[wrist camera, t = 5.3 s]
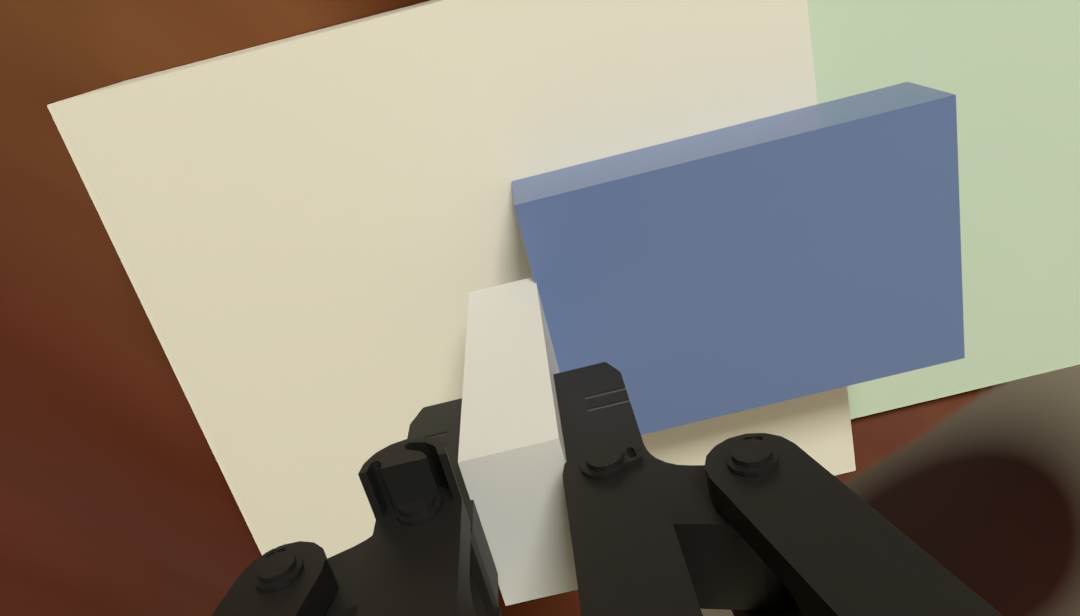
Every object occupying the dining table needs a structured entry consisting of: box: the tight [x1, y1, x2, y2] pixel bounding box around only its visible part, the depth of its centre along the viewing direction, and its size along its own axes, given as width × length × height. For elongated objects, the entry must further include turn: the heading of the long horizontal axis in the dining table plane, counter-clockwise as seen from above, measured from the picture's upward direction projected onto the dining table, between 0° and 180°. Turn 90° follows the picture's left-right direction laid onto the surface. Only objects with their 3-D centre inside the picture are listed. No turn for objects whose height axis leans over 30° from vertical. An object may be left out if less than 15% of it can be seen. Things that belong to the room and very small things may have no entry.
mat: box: [807, 0, 1080, 419], centre depth 22 cm, size 12×16×1 cm
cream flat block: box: [47, 0, 856, 559], centre depth 21 cm, size 16×14×4 cm
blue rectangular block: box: [512, 82, 965, 435], centre depth 18 cm, size 9×6×2 cm, turn 104°
